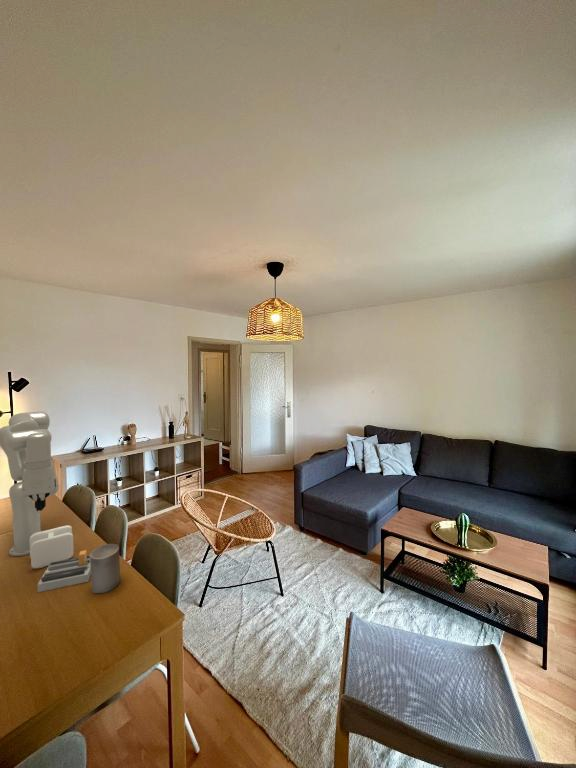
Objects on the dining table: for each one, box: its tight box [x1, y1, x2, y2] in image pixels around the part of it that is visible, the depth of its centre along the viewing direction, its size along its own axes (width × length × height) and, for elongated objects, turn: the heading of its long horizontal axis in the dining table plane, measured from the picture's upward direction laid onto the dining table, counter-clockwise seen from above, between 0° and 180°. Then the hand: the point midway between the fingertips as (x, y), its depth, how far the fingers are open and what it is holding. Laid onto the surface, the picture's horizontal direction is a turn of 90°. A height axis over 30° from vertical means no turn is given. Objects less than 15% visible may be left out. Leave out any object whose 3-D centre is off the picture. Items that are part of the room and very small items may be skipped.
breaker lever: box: [78, 549, 88, 566], centre depth 123 cm, size 3×3×6 cm
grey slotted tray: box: [37, 554, 91, 593], centre depth 122 cm, size 12×16×5 cm
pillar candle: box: [89, 543, 121, 594], centre depth 117 cm, size 10×10×15 cm
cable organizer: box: [29, 524, 74, 569], centre depth 133 cm, size 15×11×12 cm
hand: (40, 509), depth 121 cm, fingers closed
